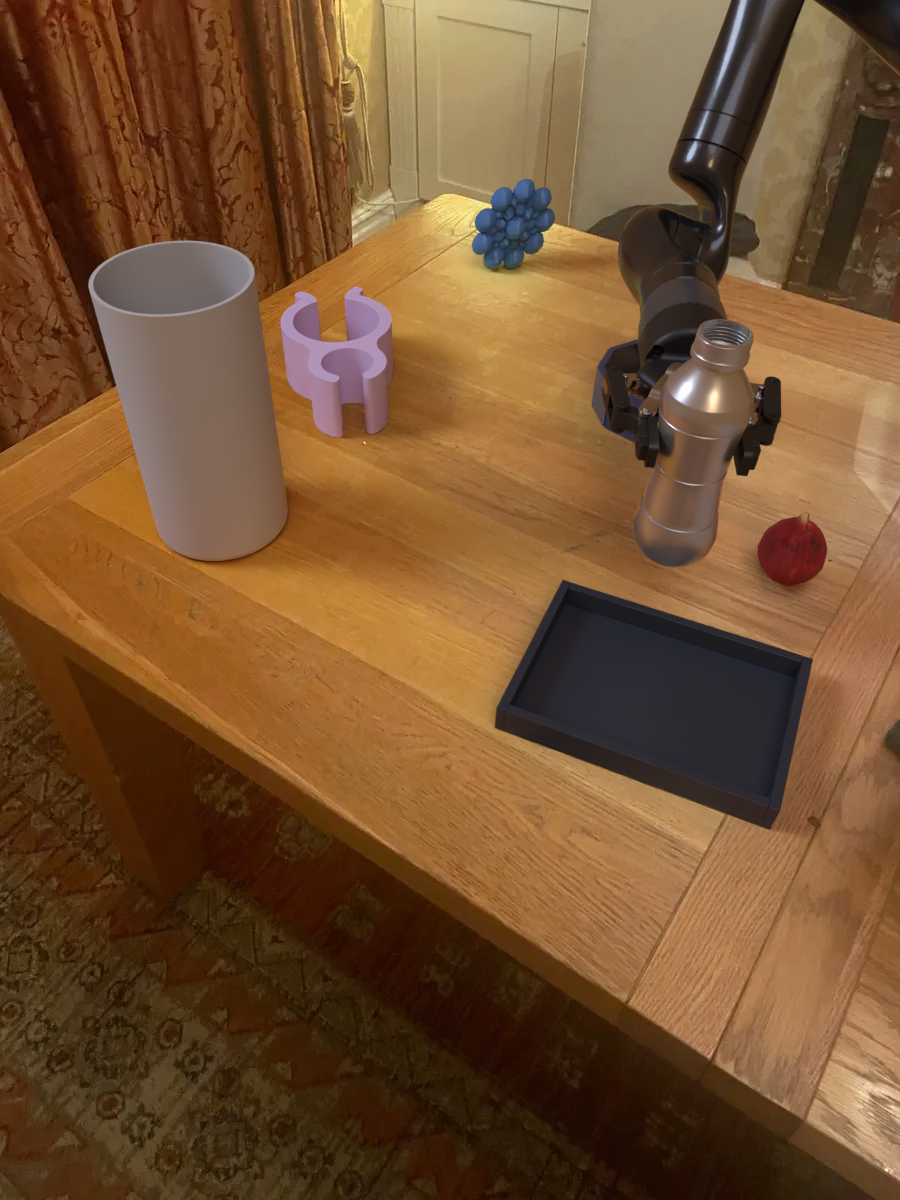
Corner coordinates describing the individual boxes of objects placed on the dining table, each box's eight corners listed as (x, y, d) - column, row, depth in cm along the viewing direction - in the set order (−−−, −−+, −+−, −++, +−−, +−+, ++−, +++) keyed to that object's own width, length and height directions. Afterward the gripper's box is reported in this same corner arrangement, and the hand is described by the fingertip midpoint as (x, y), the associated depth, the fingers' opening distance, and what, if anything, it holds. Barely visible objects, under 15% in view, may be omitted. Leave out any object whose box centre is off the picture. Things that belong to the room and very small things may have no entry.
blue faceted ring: (726, 393, 106) (737, 354, 102) (698, 459, 97) (709, 420, 93) (614, 365, 109) (621, 327, 106) (577, 427, 100) (583, 388, 97)
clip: (412, 429, 99) (411, 374, 94) (298, 442, 97) (291, 386, 92) (382, 337, 113) (380, 284, 108) (281, 346, 111) (275, 293, 106)
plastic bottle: (702, 587, 72) (771, 367, 58) (619, 565, 74) (666, 346, 59) (715, 536, 76) (783, 320, 62) (636, 516, 78) (684, 300, 63)
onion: (824, 596, 83) (854, 531, 77) (769, 609, 81) (795, 542, 76) (790, 554, 86) (816, 489, 81) (736, 565, 85) (759, 499, 79)
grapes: (539, 250, 131) (547, 163, 122) (555, 271, 126) (565, 183, 118) (461, 259, 128) (464, 171, 120) (476, 280, 124) (480, 191, 115)
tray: (803, 678, 76) (813, 658, 74) (770, 830, 66) (780, 811, 64) (559, 599, 82) (562, 579, 80) (494, 728, 72) (496, 707, 70)
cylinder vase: (131, 544, 86) (53, 296, 68) (203, 469, 94) (151, 230, 76) (247, 580, 82) (197, 330, 65) (311, 499, 91) (283, 257, 73)
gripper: (605, 294, 75) (606, 410, 63) (782, 307, 74) (816, 427, 62) (592, 373, 80) (592, 494, 69) (758, 386, 79) (785, 511, 68)
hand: (698, 461), depth 65 cm, fingers closed on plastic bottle, 6 cm apart
